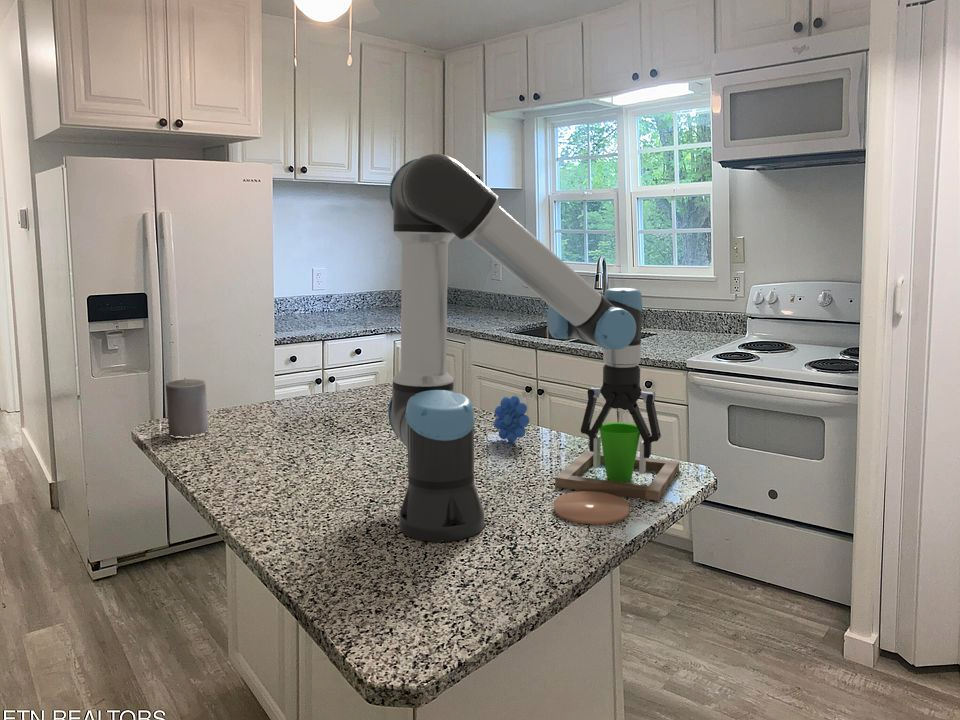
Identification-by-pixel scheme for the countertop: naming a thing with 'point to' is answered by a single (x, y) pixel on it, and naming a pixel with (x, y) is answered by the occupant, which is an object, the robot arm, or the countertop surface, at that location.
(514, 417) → the grapes
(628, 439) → the cup
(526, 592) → the countertop surface
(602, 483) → the frame
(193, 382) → the pillar candle
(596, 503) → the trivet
